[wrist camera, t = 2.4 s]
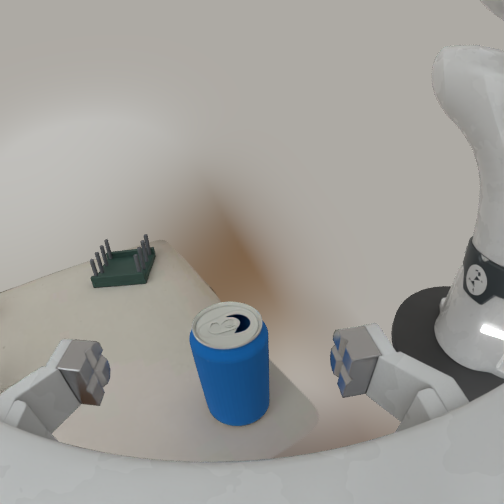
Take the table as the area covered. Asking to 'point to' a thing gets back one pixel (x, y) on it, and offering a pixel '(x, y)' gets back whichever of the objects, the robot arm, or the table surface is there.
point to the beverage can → (232, 361)
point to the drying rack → (123, 266)
